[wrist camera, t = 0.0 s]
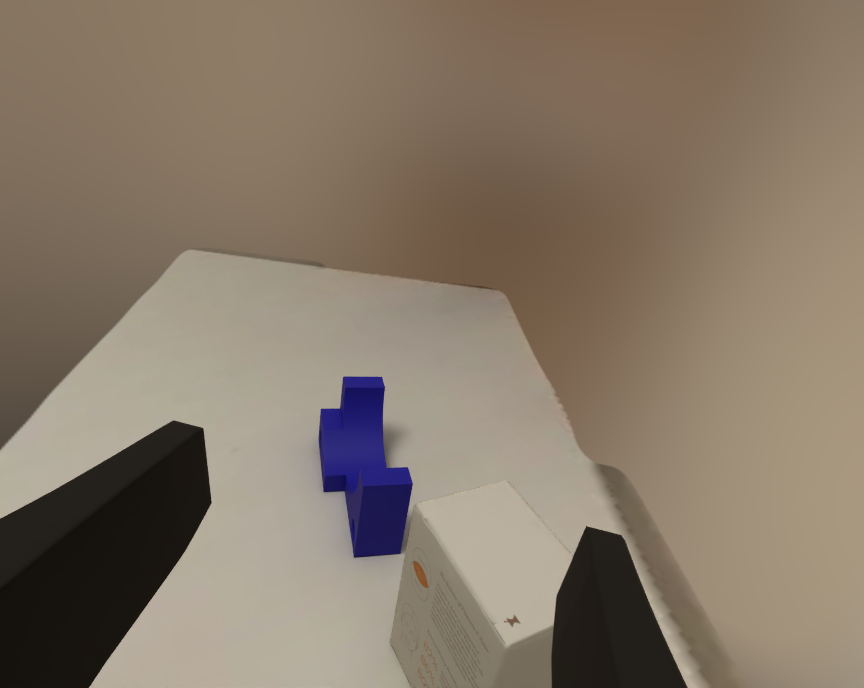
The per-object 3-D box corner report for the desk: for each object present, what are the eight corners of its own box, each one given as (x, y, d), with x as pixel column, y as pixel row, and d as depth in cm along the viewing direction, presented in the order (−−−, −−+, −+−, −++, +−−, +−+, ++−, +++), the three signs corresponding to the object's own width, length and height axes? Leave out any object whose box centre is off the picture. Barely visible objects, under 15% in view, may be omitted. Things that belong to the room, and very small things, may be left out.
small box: (553, 742, 28) (618, 602, 23) (457, 795, 26) (508, 651, 21) (471, 608, 34) (509, 475, 29) (386, 640, 32) (412, 500, 27)
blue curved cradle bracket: (318, 439, 46) (323, 376, 43) (373, 437, 47) (381, 376, 44) (330, 559, 36) (337, 487, 33) (400, 553, 37) (412, 484, 34)
